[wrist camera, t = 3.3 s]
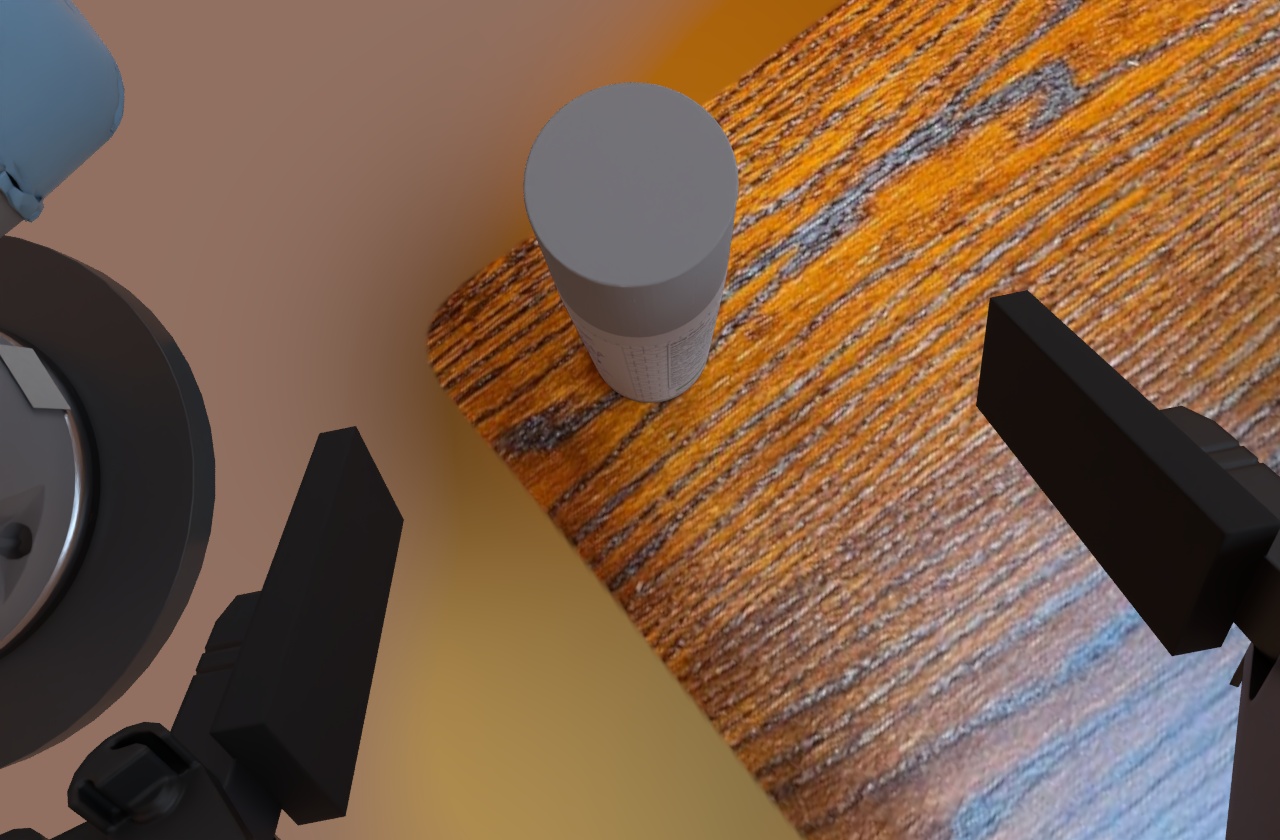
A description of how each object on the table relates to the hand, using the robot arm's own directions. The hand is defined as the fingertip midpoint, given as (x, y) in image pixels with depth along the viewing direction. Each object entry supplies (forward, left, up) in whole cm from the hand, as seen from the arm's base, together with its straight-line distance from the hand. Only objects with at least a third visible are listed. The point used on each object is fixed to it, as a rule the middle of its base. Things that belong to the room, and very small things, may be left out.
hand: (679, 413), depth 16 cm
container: (+1, +4, -14) cm, 15 cm away
